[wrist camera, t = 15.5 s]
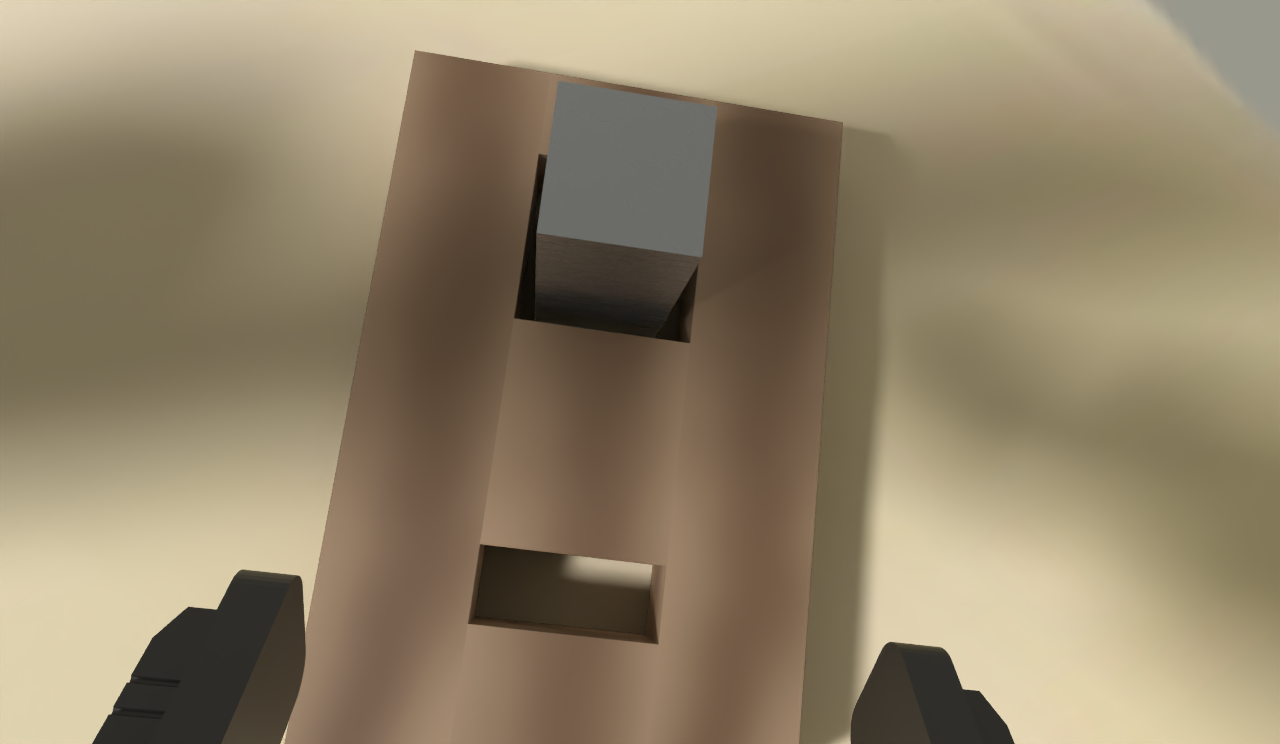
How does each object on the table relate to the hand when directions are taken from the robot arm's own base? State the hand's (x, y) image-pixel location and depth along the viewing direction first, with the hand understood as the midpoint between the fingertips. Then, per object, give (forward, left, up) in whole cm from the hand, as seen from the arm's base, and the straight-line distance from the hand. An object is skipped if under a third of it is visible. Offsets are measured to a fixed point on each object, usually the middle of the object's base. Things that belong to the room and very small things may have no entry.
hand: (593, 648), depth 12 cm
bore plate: (-1, +6, -16) cm, 17 cm away
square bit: (-2, +10, -16) cm, 19 cm away
